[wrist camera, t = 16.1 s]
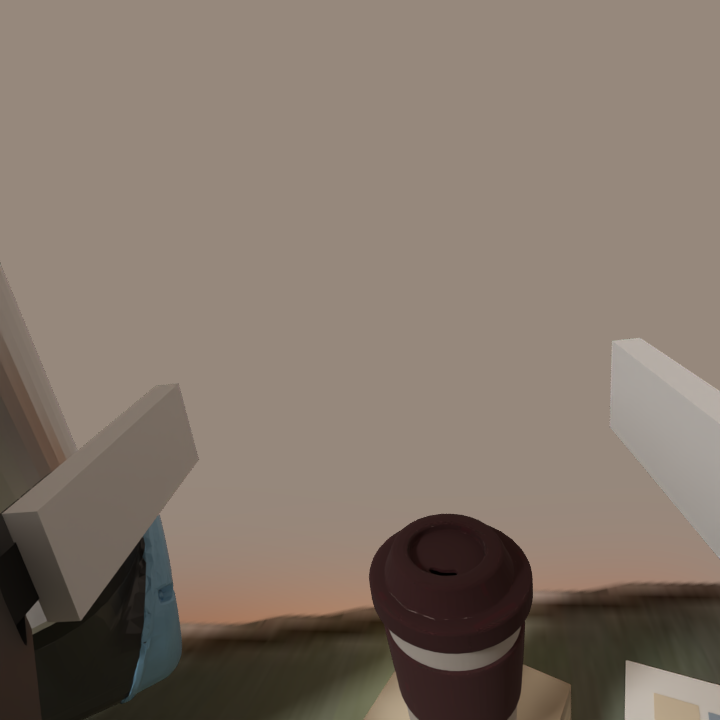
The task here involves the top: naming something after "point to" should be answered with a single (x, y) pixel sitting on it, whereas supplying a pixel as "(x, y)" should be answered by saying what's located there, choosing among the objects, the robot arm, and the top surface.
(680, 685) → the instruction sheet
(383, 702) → the tan flat block
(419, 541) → the coffee cup
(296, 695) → the top surface
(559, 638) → the top surface
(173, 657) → the robot arm
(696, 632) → the top surface
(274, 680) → the top surface
